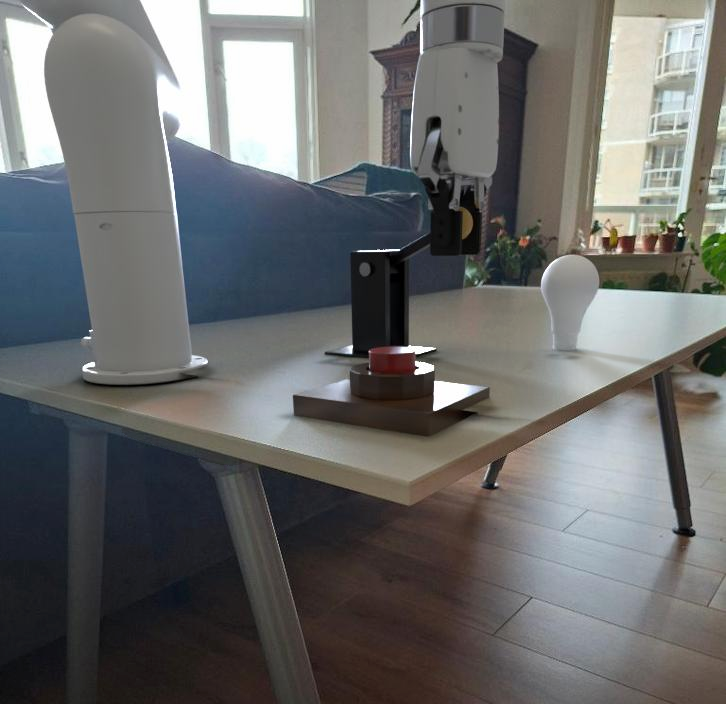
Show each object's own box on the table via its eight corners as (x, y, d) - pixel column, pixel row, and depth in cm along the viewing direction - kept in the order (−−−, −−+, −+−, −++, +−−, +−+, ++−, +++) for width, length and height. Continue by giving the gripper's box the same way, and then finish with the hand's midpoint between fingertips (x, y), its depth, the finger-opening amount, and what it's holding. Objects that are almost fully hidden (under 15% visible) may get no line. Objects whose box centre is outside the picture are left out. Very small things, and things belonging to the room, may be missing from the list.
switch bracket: (436, 358, 76) (438, 249, 72) (400, 370, 70) (400, 251, 66) (364, 352, 81) (362, 250, 77) (324, 362, 75) (320, 251, 71)
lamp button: (360, 374, 51) (359, 351, 51) (385, 367, 54) (385, 345, 53) (400, 378, 49) (400, 355, 49) (424, 371, 52) (424, 348, 51)
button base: (293, 416, 52) (291, 371, 51) (365, 392, 60) (364, 353, 59) (428, 437, 46) (429, 387, 44) (489, 408, 53) (491, 364, 52)
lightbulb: (549, 350, 80) (557, 254, 76) (600, 355, 76) (610, 253, 72) (526, 357, 75) (533, 255, 72) (578, 363, 72) (588, 255, 68)
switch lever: (482, 231, 66) (471, 200, 66) (468, 231, 64) (456, 199, 64) (383, 286, 74) (373, 259, 74) (367, 288, 72) (356, 260, 72)
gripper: (464, 66, 69) (459, 253, 75) (377, 28, 56) (379, 257, 62) (534, 54, 65) (522, 252, 71) (457, 10, 52) (451, 257, 58)
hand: (455, 253), depth 67 cm, fingers open, 3 cm apart
